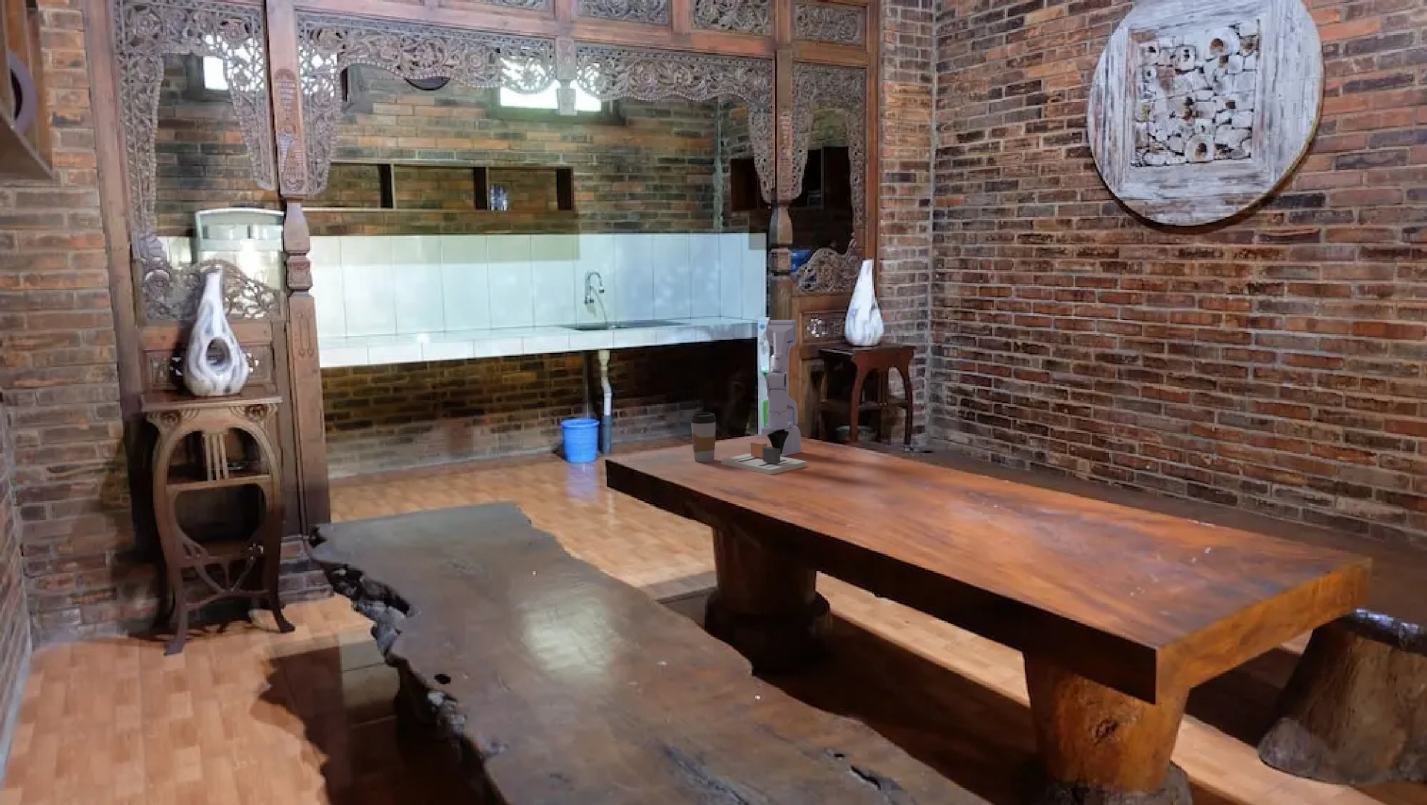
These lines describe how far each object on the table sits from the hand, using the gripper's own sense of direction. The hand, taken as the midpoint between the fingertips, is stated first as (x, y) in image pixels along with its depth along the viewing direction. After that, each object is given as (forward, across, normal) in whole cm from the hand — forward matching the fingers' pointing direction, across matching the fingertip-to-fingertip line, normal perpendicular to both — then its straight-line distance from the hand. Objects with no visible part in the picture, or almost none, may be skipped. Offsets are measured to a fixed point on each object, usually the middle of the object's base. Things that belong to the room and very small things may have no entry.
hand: (777, 454), depth 306 cm
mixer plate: (+4, 0, -5) cm, 7 cm away
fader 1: (+2, -2, -9) cm, 9 cm away
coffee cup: (+4, +5, -25) cm, 26 cm away
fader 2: (+2, +3, 0) cm, 3 cm away
